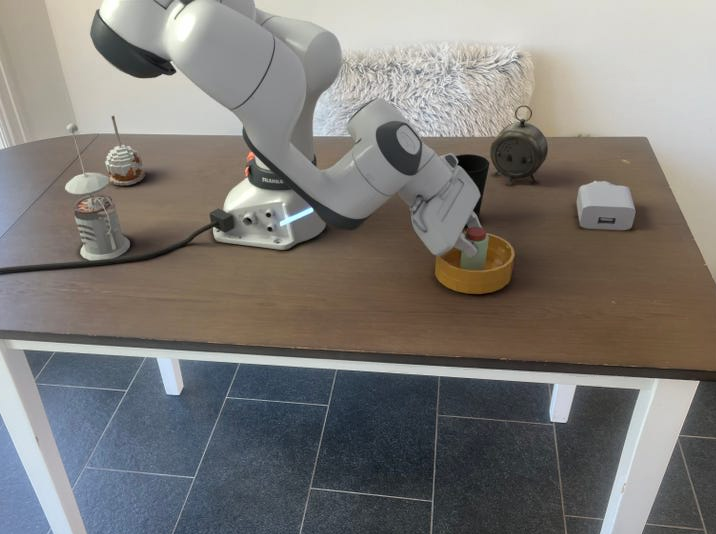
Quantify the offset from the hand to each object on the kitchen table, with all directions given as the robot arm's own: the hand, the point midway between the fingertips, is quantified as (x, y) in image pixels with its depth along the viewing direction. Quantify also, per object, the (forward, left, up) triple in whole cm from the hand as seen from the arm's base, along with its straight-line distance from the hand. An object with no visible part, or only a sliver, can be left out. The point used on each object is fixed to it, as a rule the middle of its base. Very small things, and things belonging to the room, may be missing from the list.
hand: (478, 245), depth 121 cm
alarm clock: (+10, +37, -7) cm, 39 cm away
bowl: (0, 0, -6) cm, 6 cm away
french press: (-70, +7, -6) cm, 71 cm away
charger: (+25, +25, -7) cm, 36 cm away
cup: (-1, +20, -6) cm, 21 cm away
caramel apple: (-76, +37, -6) cm, 85 cm away
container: (-1, 0, -4) cm, 4 cm away
